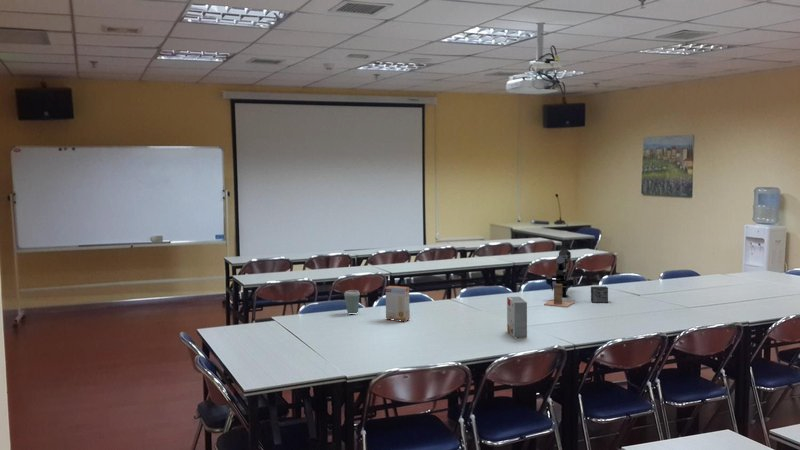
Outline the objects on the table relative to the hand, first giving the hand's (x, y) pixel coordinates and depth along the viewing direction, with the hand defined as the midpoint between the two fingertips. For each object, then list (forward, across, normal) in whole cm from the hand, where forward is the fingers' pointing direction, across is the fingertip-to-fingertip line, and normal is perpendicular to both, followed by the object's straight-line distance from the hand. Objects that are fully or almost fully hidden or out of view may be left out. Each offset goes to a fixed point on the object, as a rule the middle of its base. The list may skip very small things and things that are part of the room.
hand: (559, 290), depth 442 cm
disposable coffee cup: (+55, -123, -43) cm, 142 cm away
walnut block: (+10, 0, 0) cm, 10 cm away
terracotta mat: (+9, +1, +3) cm, 9 cm away
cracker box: (+60, -89, -49) cm, 118 cm away
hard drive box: (+70, -13, -59) cm, 92 cm away
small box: (-1, +26, +14) cm, 29 cm away
